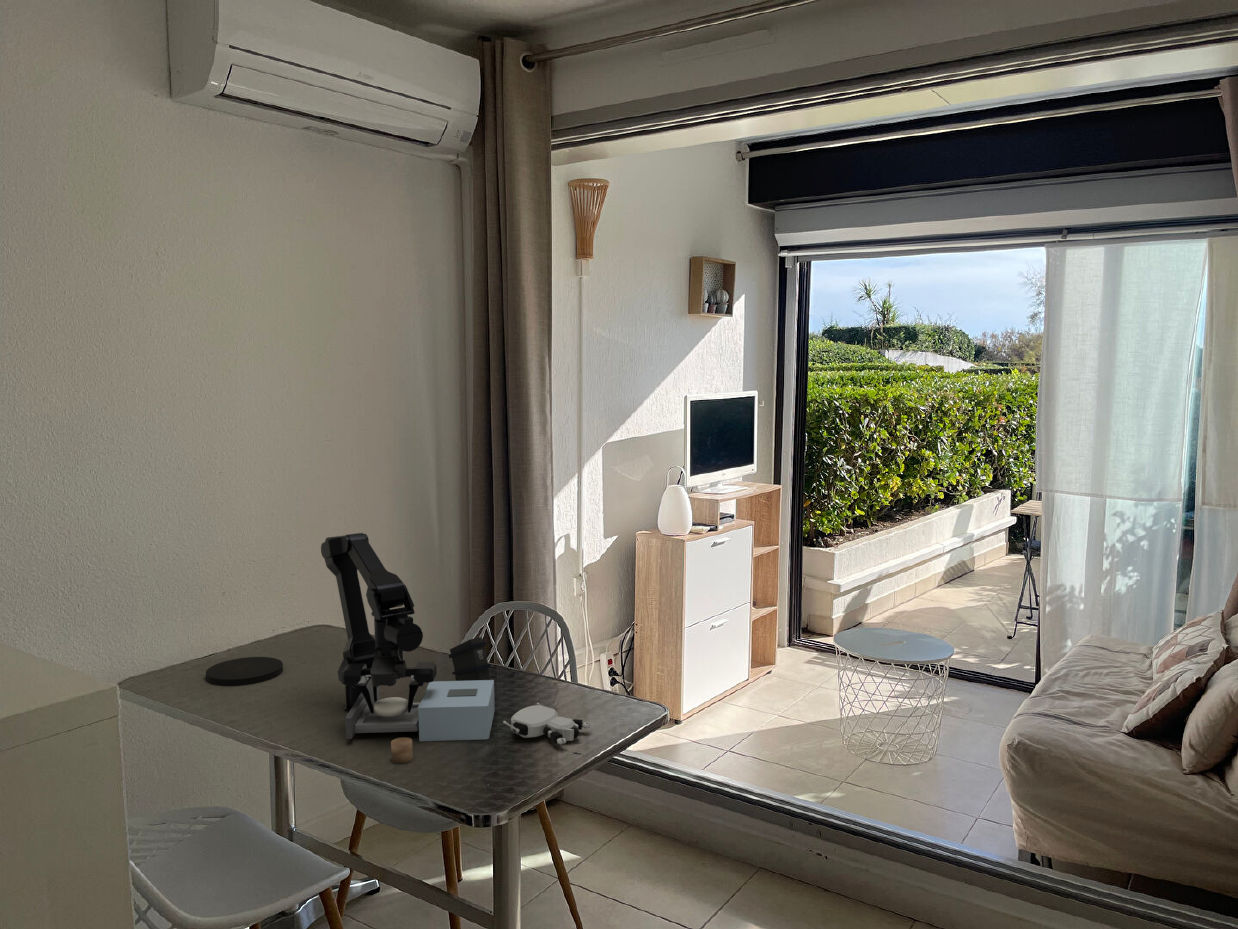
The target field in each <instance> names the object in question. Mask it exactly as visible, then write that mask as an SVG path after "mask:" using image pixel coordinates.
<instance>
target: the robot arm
mask: <svg viewBox="0 0 1238 929" xmlns="http://www.w3.org/2000/svg"><path fill="white" fill-rule="evenodd" d="M369 540H370V539H369V536H368V534H366V533H363V532H356V533H350V534H349V533H348V534H345V535H336V536H329V537H328V536H327V537H326V538H325V540H324V542H322V543H321V545H320V553H321V556H322V558H323V560H324V563H325V566H326V568H327V569H328V570H329V571H330V572H331V573H332V574H333V575H334V577H335V579H336V583H337V584H336V585H337V589H338V593H339V594H338V595H339V600H340V605H341V606H340V607H341V610H342V614H343V620H344V621H343V622H344V626H345V631H346V636H347V641H346V644H345V646H344V649H343V651H342V657H343V659H342V662H341V664H340V666H339V668H338V669H337V676H338V681H339V682H341V684H342V685H345V686H344V687H345V707H344V708H343V711H344V712H349V711H350V710H351V708H352V707H353V705H354V703H355V702H356V700H357V699H358V697H359V695H360V694H361V692H362V694H363V696H364V697H365V700H366V702H367V704H368V707H369V709H370V712H371V714H373V713H374V703H375V702H376V701H378V700H380V686H382V687H383V686H387V687H393V686H395V685H396V683H397V680H400V679H404V678H409V677H410V682H409V684H408V688H409V689H408V698H407V701H408V713H410V712H411V709H412V705H413V703H415V698H416V695H417V692H418V689H419V687H423V686H424V685H425V684H429V683H430V682H435V678H436V676H437V664H436V663H435V662H434V661H418V662H417V663H416V665H415V666H414V667H412V666H411V667H407V662H406V660H405V659H404V652H406V653H409V652H413V651H415V650H416V649H418V648H419V647H420V645H421V644H422V642H423V639H424V632H423V631H422V628H421V627H420V626H419V625H418V624H416V623H414V617H412V616H411V615H415V609H414V608H415V604H414V601H413V599H412V597H411V594H410V592H409V589H408V587H407V586H406V584H405V582H403V581H402V579H401V578H400V577H399V576H398V574H395V573H393V572H390V571H388V569H386V567H385V566H384V564H383V562H382V561H381V559H380V557H379V556H378V555H377V554H376V552H375V550H374V548H373V547H372V545H371V544H370V542H369ZM358 573H359V574H360V575H361V578H362V579H363V580H364V583H365V584H366V586H367V588H366V592H365V593H366V594H365V597H366V600H367V603H368V605H369V608H370V609H371V616H372V617H373V626H374V628H373V629H374V637H373V635H371V633H370V630H369V624H368V619H367V614H366V610H365V604H364V599H363V594H362V589H361V584H360V579H359V574H358Z"/></svg>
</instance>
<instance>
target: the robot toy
mask: <svg viewBox="0 0 1238 929" xmlns="http://www.w3.org/2000/svg"><path fill="white" fill-rule="evenodd" d="M535 703H536V705H530V706H527V707H524V708H522V709H519V710H518V711H517V712H516V713H514V714H513V715H512V716H511V718H510V724H509V722H507V721H506V720H502V722H503V723H502V724H505V725H507V727H510V730H511V732H513V734H517V735H519V736H520V737H522V738H524V739H530V738H537V737H540V736H543V735H545V736H547V737H548V738H550V741H551V742H552V743H553V744H555V745H562V744H566V743H567V742H569V741H570V742H571V741H574V739H577V738H578V737H580V736H579V735H580V731H582V729H583V728H584V729H589V728H590V726H591V723H590V722H587V721H585V722H583V719H577V718H574V719H572V718H568V717H564V716H560V715H558V714H559V713H558V712H557V711H556V710H555V709H554V708H552V707H547V706H545V705H542V704H540V702H535Z"/></svg>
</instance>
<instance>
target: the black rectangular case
mask: <svg viewBox="0 0 1238 929" xmlns="http://www.w3.org/2000/svg"><path fill="white" fill-rule="evenodd" d="M486 645H487V643H486V640H484V641H483V638H482V636H478V637H476V638H474V637H473V638H470V639H469V640H466V641H464V642H462V643H460V644H458V645H456V646H453V647H452V648H450V649H449V652H450V654H449V655H448V658H449V659H452V661H451V662H452V664H453V670H454V671H452V676H454V675H455V676H454V677H455V681H474V680H491V676H490V670H489V669H491V668H492V666H491V663H490V662H489V663H488V659H487V658H488V657H487V652H486V649H485V646H486Z"/></svg>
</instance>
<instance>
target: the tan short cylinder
mask: <svg viewBox="0 0 1238 929" xmlns="http://www.w3.org/2000/svg"><path fill="white" fill-rule="evenodd" d="M390 753H391V754H390V755H391V756H390V757H391V762H392V763H395V764H406V763H409V762H411V761H412V760H413V756H414V755H413V739H412V738H411V737H405V736H404V737H396V738H394V739H392V740H391V741H390Z"/></svg>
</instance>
